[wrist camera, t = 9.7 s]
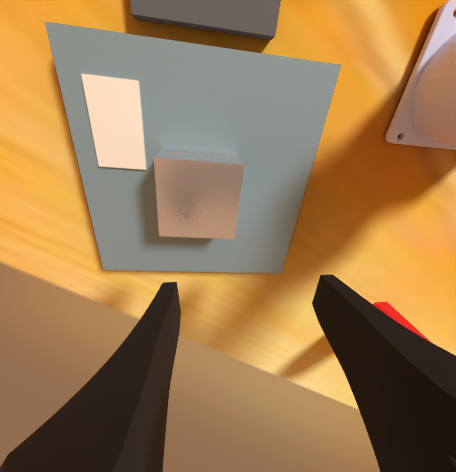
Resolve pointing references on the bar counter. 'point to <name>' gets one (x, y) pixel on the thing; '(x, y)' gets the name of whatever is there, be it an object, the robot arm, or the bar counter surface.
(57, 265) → the bar counter surface
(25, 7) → the bar counter surface
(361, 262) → the bar counter surface
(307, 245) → the bar counter surface
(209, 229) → the tan cubic block
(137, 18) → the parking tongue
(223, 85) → the hole plate
